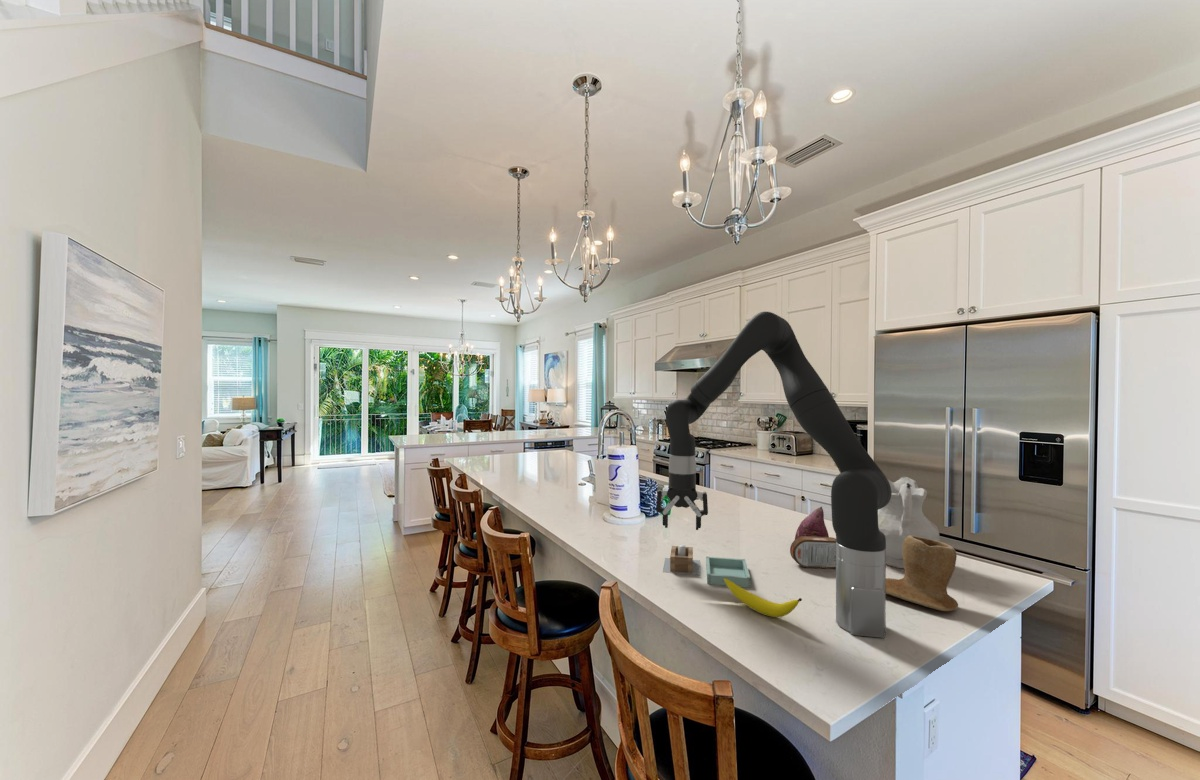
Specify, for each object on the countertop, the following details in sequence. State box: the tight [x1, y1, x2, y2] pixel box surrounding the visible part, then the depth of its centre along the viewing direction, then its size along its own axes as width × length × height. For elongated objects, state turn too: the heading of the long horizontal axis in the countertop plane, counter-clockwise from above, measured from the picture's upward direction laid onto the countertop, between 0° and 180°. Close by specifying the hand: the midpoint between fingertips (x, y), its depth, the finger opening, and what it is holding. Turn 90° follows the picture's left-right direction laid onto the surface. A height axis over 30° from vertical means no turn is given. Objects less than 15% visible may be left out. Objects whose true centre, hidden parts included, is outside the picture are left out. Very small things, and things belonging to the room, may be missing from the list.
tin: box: [789, 536, 836, 570], centre depth 132 cm, size 15×3×8 cm, turn 84°
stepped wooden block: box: [669, 545, 694, 573], centre depth 131 cm, size 9×6×4 cm, turn 168°
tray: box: [705, 556, 752, 588], centre depth 125 cm, size 14×11×3 cm
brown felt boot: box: [886, 535, 959, 612], centre depth 111 cm, size 15×12×15 cm
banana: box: [724, 578, 802, 618], centre depth 105 cm, size 3×19×6 cm, turn 41°
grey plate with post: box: [662, 544, 701, 576], centre depth 131 cm, size 11×10×6 cm
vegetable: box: [794, 506, 830, 540], centre depth 149 cm, size 10×10×15 cm
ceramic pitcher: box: [878, 475, 940, 569], centre depth 135 cm, size 22×20×25 cm
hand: (681, 528), depth 131 cm, fingers open, 8 cm apart
